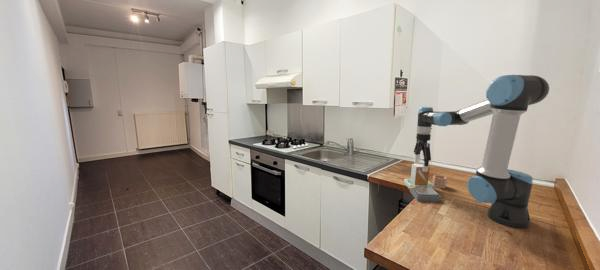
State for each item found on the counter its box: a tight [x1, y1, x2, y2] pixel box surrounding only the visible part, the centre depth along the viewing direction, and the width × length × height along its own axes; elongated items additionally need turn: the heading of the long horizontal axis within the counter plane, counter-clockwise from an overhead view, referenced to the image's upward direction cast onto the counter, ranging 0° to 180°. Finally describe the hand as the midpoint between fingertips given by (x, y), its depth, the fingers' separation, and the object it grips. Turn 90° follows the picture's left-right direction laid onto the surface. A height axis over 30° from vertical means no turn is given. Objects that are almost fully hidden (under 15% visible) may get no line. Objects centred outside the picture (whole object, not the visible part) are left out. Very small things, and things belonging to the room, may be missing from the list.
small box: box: [409, 163, 430, 186], centre depth 150 cm, size 8×6×13 cm
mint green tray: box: [403, 178, 435, 190], centre depth 151 cm, size 11×14×2 cm
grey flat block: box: [409, 187, 442, 203], centre depth 137 cm, size 12×12×4 cm
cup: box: [431, 174, 448, 189], centre depth 152 cm, size 7×7×6 cm
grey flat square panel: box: [413, 186, 440, 196], centre depth 136 cm, size 10×10×1 cm
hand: (420, 167), depth 149 cm, fingers open, 13 cm apart
